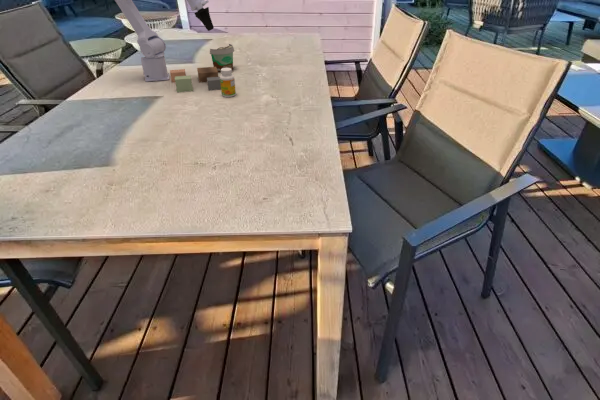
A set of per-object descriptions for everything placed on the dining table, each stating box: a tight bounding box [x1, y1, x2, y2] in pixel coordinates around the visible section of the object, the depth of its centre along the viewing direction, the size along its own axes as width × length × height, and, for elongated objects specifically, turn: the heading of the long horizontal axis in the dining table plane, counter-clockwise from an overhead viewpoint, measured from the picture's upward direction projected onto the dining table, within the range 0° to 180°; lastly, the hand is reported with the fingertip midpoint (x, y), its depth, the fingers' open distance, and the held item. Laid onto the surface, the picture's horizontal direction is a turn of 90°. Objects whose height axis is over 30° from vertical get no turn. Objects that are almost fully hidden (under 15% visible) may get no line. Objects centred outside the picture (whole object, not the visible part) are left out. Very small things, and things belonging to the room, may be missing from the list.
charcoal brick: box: [206, 76, 221, 92], centre depth 150 cm, size 6×4×4 cm, turn 105°
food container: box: [209, 43, 235, 73], centre depth 168 cm, size 12×6×10 cm, turn 143°
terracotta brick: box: [169, 68, 187, 83], centre depth 158 cm, size 6×4×4 cm, turn 106°
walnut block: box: [196, 66, 219, 83], centre depth 160 cm, size 8×8×4 cm
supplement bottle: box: [219, 68, 237, 98], centre depth 142 cm, size 5×5×10 cm
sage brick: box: [174, 74, 194, 93], centre depth 148 cm, size 6×4×5 cm, turn 106°
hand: (211, 29), depth 144 cm, fingers open, 7 cm apart
